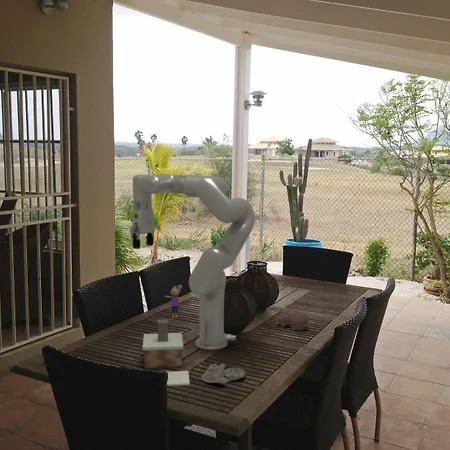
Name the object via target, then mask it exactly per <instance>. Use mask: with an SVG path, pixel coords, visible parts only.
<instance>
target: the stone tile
mask: <svg viewBox="0 0 450 450" xmlns="http://www.w3.org/2000/svg"><path fill="white" fill-rule="evenodd" d="M166 372H167V373H168V381H167V385H168V386H167V387H171V386H172V387H175V386H176V387H177V386H190V384H191V383H190V375H189V371H188V370H179V371H166Z"/></svg>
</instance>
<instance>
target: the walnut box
mask: <svg viewBox="0 0 450 450" xmlns="http://www.w3.org/2000/svg"><path fill="white" fill-rule="evenodd" d="M143 353H144V354H143V358H144V370H155V369H179V368H183V362H182V361H183V359H182V358H183V356H182V355H183V354H182V353H183V349H168V350H143Z"/></svg>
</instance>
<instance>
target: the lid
mask: <svg viewBox="0 0 450 450" xmlns="http://www.w3.org/2000/svg"><path fill="white" fill-rule="evenodd" d="M142 342H143V343H142V351H144V350H168V349H182V350H183V349H184V341H183V333H182V332H171V333H170V332H169V320H168V319H167V318H166V319H157V333H144V334H143V341H142Z"/></svg>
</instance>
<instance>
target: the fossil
mask: <svg viewBox="0 0 450 450" xmlns="http://www.w3.org/2000/svg"><path fill="white" fill-rule="evenodd" d="M245 375H246V371H245V370H244V369H243V368H240V367H229V368H226V364H225V363H221V364H219V365H217V363H212V364H210V365H209V366H208V368H207V369H206V371H205V372H204V373H203V374H201V375H200V379H201V381H203V382H205V383H209V384H210V383H211V384H221V385H225V384H228V383H230V382H232V381H239V379H241V378H242V379H243V378H244V377H245Z"/></svg>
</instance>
